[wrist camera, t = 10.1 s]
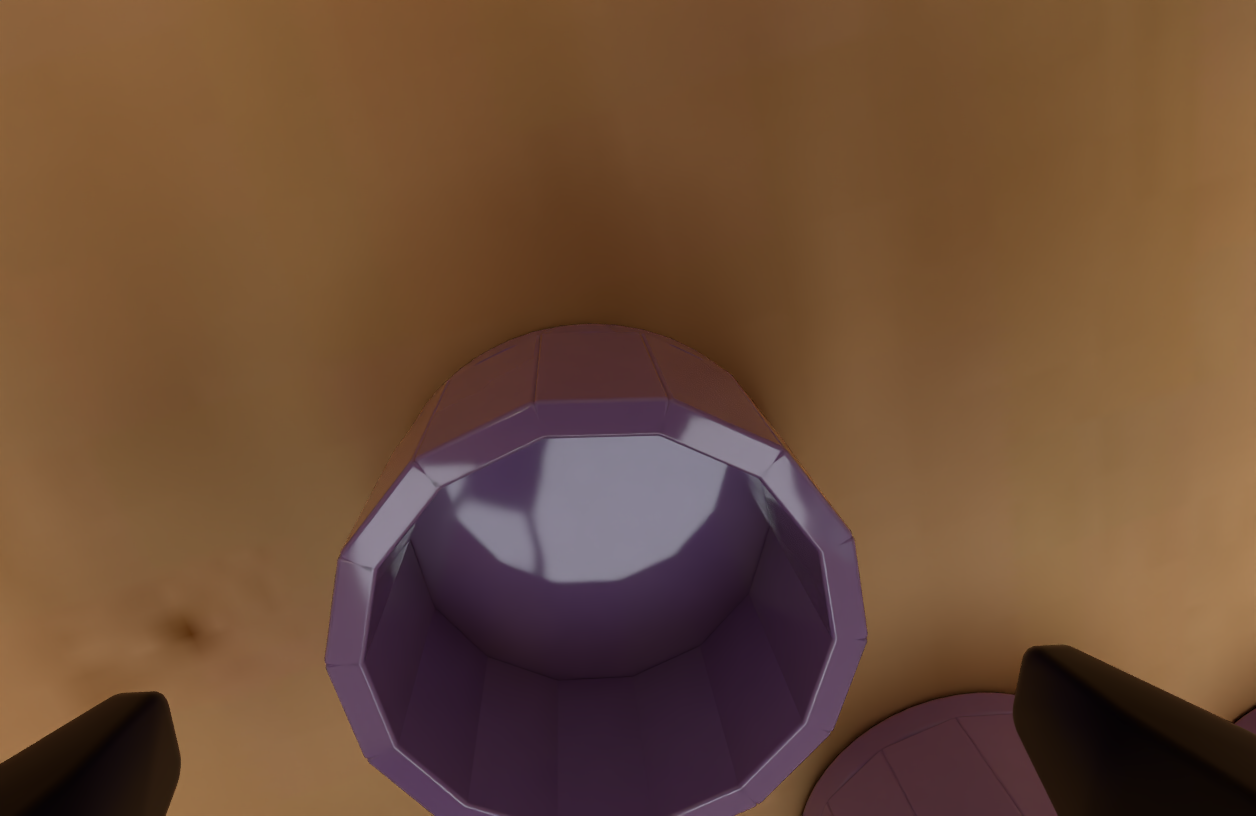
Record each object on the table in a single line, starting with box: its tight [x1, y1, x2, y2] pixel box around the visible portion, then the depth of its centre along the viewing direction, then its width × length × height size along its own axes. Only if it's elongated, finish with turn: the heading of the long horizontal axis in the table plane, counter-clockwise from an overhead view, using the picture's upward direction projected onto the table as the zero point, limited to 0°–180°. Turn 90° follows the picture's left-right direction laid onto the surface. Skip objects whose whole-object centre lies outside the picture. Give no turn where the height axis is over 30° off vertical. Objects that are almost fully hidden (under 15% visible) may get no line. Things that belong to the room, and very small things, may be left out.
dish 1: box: [325, 324, 868, 816], centre depth 11 cm, size 6×6×4 cm
